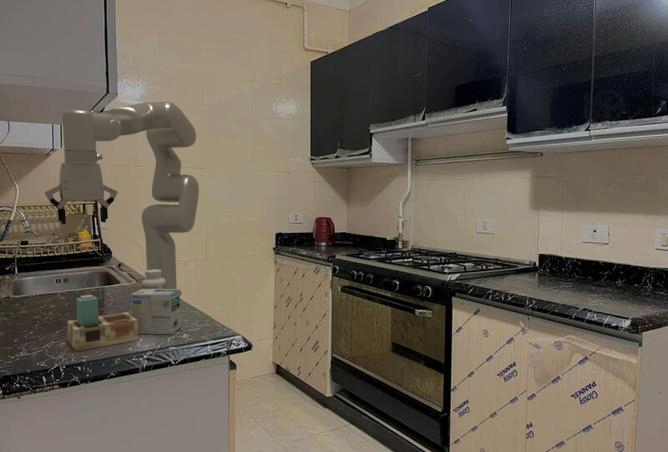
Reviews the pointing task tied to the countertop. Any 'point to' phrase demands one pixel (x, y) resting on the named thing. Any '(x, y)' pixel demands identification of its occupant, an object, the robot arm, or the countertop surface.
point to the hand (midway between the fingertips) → (83, 223)
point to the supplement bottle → (154, 280)
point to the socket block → (103, 331)
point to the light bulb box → (157, 310)
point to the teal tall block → (87, 310)
